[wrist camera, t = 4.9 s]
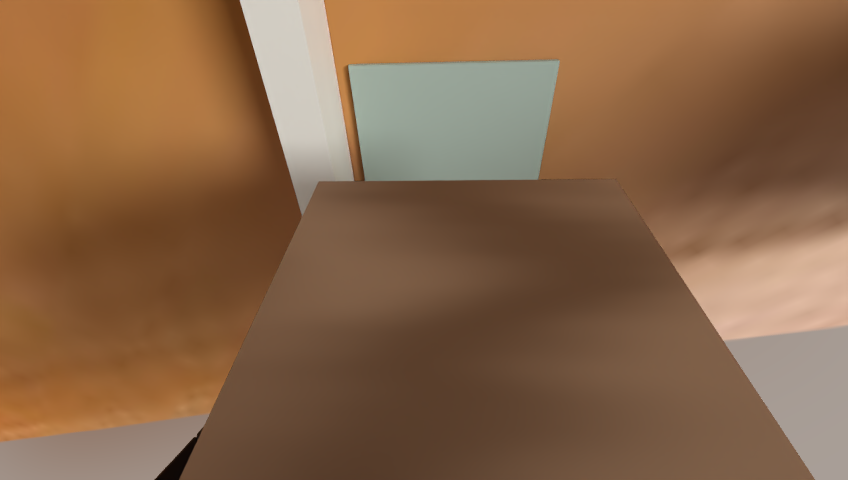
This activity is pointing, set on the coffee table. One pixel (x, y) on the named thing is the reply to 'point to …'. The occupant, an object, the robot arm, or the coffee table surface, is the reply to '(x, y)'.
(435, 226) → the walnut cube
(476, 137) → the pad
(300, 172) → the white angled bracket
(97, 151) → the coffee table surface
